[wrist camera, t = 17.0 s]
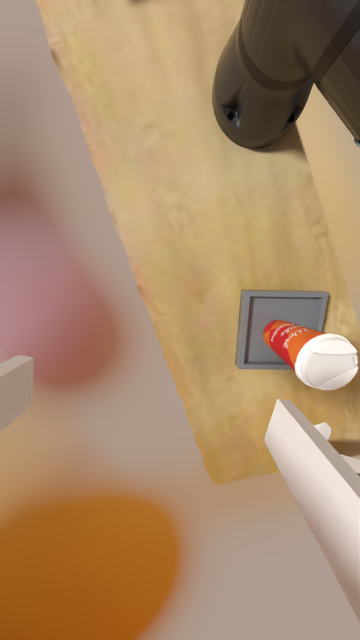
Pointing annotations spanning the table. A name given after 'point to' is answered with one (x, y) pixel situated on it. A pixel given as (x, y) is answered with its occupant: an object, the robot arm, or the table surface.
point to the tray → (267, 308)
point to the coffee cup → (313, 354)
